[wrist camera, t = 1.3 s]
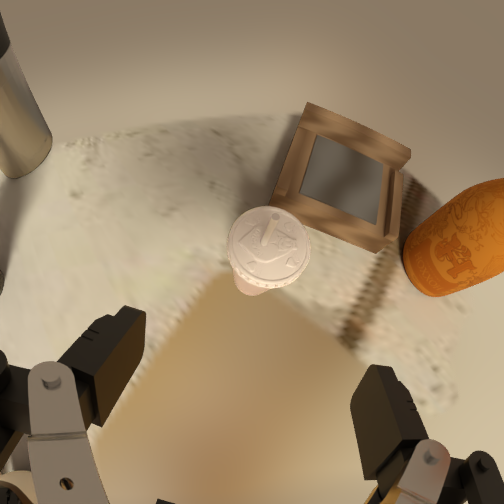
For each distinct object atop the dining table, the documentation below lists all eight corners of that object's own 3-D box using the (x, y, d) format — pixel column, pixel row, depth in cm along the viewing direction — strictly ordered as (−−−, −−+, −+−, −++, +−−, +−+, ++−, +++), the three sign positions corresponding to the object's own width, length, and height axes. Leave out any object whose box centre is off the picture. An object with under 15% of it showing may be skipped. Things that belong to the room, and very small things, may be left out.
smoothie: (221, 247, 33) (232, 170, 20) (281, 249, 33) (326, 178, 20) (220, 308, 30) (232, 266, 17) (284, 308, 31) (338, 268, 18)
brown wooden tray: (266, 210, 35) (280, 176, 28) (292, 138, 39) (307, 101, 33) (375, 253, 35) (407, 230, 29) (385, 178, 39) (410, 149, 33)
